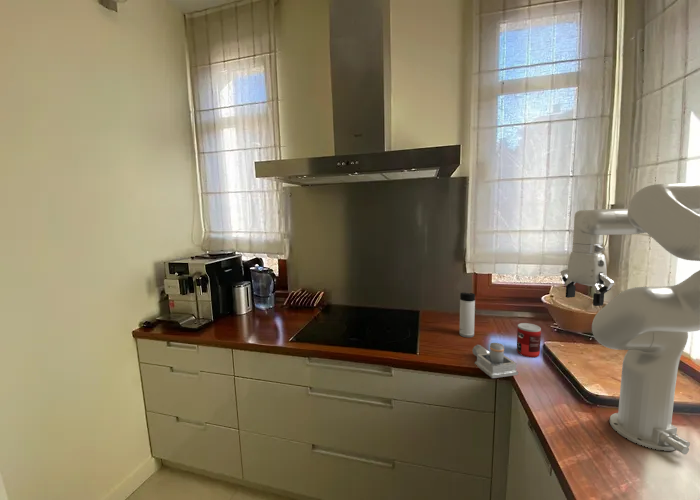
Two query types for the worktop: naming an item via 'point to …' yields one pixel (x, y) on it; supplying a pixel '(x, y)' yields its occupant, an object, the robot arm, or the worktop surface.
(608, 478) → the worktop surface
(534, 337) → the canned food
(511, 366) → the fitting
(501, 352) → the canister
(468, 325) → the travel mug
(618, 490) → the worktop surface
